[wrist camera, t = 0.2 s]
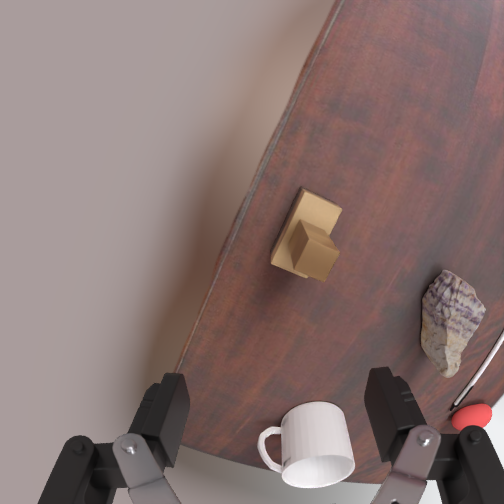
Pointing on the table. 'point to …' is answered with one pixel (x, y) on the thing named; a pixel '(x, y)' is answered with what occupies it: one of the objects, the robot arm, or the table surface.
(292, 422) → the mug
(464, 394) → the pen
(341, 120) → the table surface
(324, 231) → the scrub brush
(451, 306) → the mineral specimen
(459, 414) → the stress ball
